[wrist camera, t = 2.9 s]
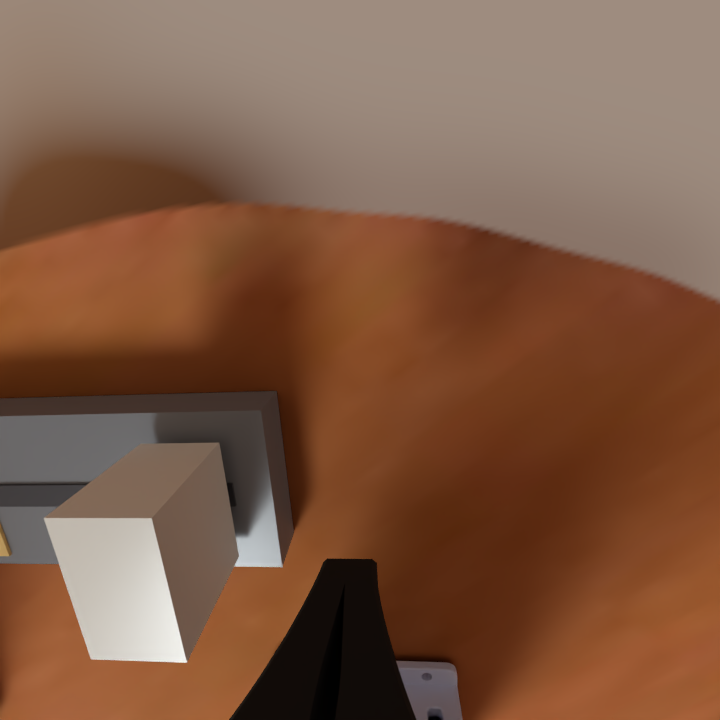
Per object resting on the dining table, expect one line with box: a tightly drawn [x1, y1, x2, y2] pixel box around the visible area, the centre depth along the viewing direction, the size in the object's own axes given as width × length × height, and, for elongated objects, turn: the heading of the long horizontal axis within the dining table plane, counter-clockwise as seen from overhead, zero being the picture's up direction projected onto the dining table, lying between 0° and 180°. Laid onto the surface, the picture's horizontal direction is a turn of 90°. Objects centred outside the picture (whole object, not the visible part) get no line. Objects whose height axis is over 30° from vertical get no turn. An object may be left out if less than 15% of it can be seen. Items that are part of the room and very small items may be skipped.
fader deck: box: [0, 391, 294, 567], centre depth 16 cm, size 16×7×2 cm, turn 93°
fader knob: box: [44, 443, 239, 663], centre depth 12 cm, size 3×5×4 cm, turn 3°
